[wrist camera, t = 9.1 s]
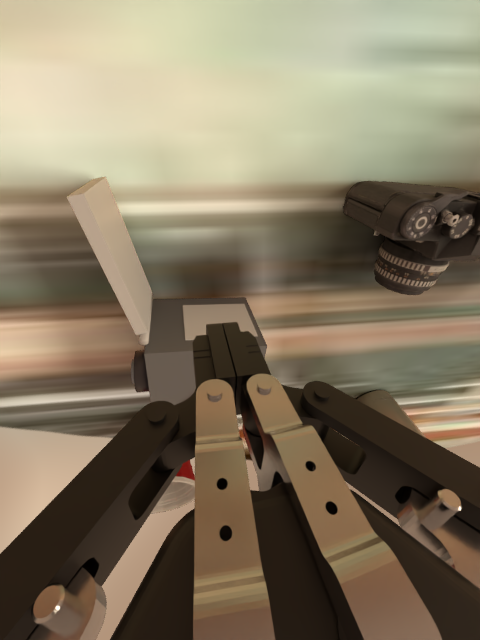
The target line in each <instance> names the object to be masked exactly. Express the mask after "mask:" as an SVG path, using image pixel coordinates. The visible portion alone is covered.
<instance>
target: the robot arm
mask: <svg viewBox="0 0 480 640" xmlns="http://www.w3.org/2000/svg"><path fill="white" fill-rule="evenodd" d="M192 346H193V362H194V374H195V384H196V389H195V391H194V393H193V394H192V395H191V396H190V397H189V398H188V399H187V400H185V401H183V402H181V403H178V404H176V405H173V404H172V403H170V402H168V401H155V402H152V403H150V404H148V405H146V406H145V407H143V408H142V409H141V410H140V411H139V412H138V413H137V414H136V415H135V416H134V417H133V418H132V419H131V421H130V422H129V423H128V424H127V425H126V426H125V427H124V428H123V429H122V430H121V431H120V432H119V433H118V434H117V435H116V436H115V437H114V438H113V439H112V440H111V441H110V442H109V443H108V444H107V445H106V446H105V447H104V448H103V449H102V450H101V451H100V452H99V453H98V454H97V455H96V457H94V458H93V459H92V461H91V462H90V463H89V464H88V465H87V466H86V467H85V468H84V469H83V470H82V471H81V472H80V473H79V474H78V475H77V476H76V477H75V478H74V479H73V480H72V481H71V482H70V483H69V484H68V485H67V486H66V487H65V488H64V489H63V490H62V491H61V492H60V493H59V494H58V495H57V496H56V497H55V498H54V500H53V501H52V502H51V503H50V504H49V505H48V506H47V507H46V508H45V509H44V510H43V511H42V512H41V513H40V514H39V515H38V516H37V517H36V518H35V519H34V520H33V521H32V522H31V523H30V524H29V525H28V526H27V527H26V528H25V529H24V530H23V532H21V534H20V535H18V536H17V538H15V539H14V540H13V542H12V543H11V544H10V545H9V546H8V547H7V548H6V549H5V550H4V551H3V552H2V553H1V554H0V640H96V638H97V636H98V634H99V632H100V630H101V628H102V625H103V622H104V618H105V614H106V603H107V602H106V595H105V592H104V590H103V588H102V585H103V584H104V582H105V581H106V579H107V577H108V576H109V575H110V573H111V571H112V570H113V569H114V567H115V565H116V564H117V563H118V561H119V560H120V558H121V557H122V555H123V554H124V552H125V551H126V549H127V548H128V546H129V545H130V543H131V542H132V540H133V539H134V537H135V536H136V534H137V533H138V531H139V530H140V528H141V527H142V525H143V524H144V522H145V521H146V519H147V518H148V516H149V515H150V513H151V512H152V510H153V509H154V507H155V506H156V504H157V503H158V501H159V500H160V498H161V497H162V495H163V494H164V493H165V491H166V490H167V488H168V487H169V485H170V484H171V482H172V481H173V479H174V478H175V476H176V475H177V473H178V472H179V470H180V469H181V467H182V464H183V463H185V462H187V461H188V460H190V459H192V458H194V457H195V508H194V509H193V510H191V511H190V512H189V513H187V514H186V515H185V516H184V517H183V518H182V519H181V520H180V521H179V522H178V523H177V524H176V525H175V526H174V527H173V529H172V530H171V532H170V533H169V535H168V536H167V537H166V539H165V541H164V542H163V544H162V546H161V548H160V550H159V552H158V553H157V555H156V557H155V559H154V561H153V562H152V565H151V566H150V568H149V570H148V572H147V573H146V575H145V577H144V579H143V581H142V582H141V584H140V586H139V588H138V590H137V591H136V593H135V595H134V597H133V599H132V601H131V603H130V604H129V606H128V608H127V610H126V612H125V613H124V615H123V617H122V619H121V621H120V623H119V624H118V626H117V628H116V630H115V632H114V633H113V635H112V637H111V639H110V640H480V468H479V467H478V466H476V465H474V464H472V463H470V462H468V461H467V460H465V459H463V458H461V457H459V456H458V455H456V454H454V453H452V452H450V451H449V450H447V449H445V448H443V447H441V446H439V445H438V444H436V443H434V442H432V441H430V440H429V439H427V438H426V437H425V436H424V435H423V434H422V432H421V431H420V430H419V429H418V427H417V426H416V425H415V424H414V423H413V421H412V420H411V419H410V418H409V417H408V415H407V414H406V413H405V412H404V411H403V409H402V408H401V407H400V406H399V405H398V403H397V402H396V401H395V400H394V399H393V397H392V396H391V395H390V394H389V393H388V392H387V391H384V390H377V391H372V392H369V393H367V394H364V395H363V396H361V397H359V398H358V399H354V398H353V397H351V396H349V395H347V394H345V393H343V392H342V391H340V390H338V389H336V388H334V387H333V386H331V385H329V384H327V383H324V382H320V381H313V382H309V383H307V384H306V385H305V387H304V389H299V388H292V387H287V386H284V385H282V384H281V383H280V382H279V381H278V379H276V378H275V377H273V376H271V374H270V371H269V369H268V366H267V364H266V362H265V359H264V357H263V354H262V352H261V350H260V347H259V346H258V342H257V340H256V338H255V337H254V336H253V335H252V334H251V333H250V332H249V331H244V332H241V331H240V328H239V325H238V323H237V322H228V323H222V324H221V323H216V324H206V335H198V336H196V337H195V339H194V341H193V343H192ZM238 414H241V415H242V419H243V433H244V437H245V440H246V443H247V446H248V449H249V452H250V455H251V458H252V461H253V464H254V467H255V470H256V473H257V478H258V486H259V491H252V490H250V486H249V479H248V474H247V473H248V472H247V466H246V459H245V453H244V446H243V441H242V438H240V436H239V430H238V423H237V416H236V415H238ZM331 428H332V429H331ZM333 429H334V430H333ZM336 431H337V432H336ZM339 433H340V434H339ZM342 435H343V436H342ZM345 437H346V438H345ZM347 438H348V439H347ZM350 440H351V441H350ZM353 442H354V443H353ZM356 444H357V445H356ZM358 445H359V446H358ZM345 481H346V482H347V483H349V484H350V485H351V486H353V487H354V488H356V489H357V490H358V491H360V492H361V493H362V494H364V495H365V496H367V497H368V498H369V499H371V500H372V501H373V502H375V503H376V504H378V505H379V506H380V507H382V508H383V509H384V510H386V511H387V512H389V513H390V514H391V515H393V516H394V517H396V518H397V519H398V521H399V524H400V526H401V527H400V526H398V525H397V524H396V523H394V522H393V521H392V520H391V519H389V518H388V517H387V516H385V515H384V514H383V513H381V512H380V511H379V510H378V509H376V508H375V507H374V506H372V505H371V504H370V503H369V502H367V501H366V500H365V499H363V498H362V497H361V496H359V495H358V494H357V493H355V492H354V491H352V490H350V489H349V487H348V486H347V484H346V482H345Z"/></svg>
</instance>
